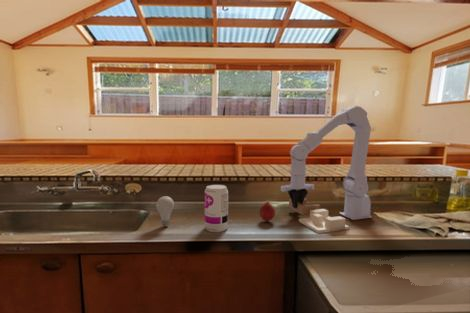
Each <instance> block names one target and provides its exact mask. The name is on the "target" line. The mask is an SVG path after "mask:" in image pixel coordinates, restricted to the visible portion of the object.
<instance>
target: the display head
mask: <svg viewBox="0 0 470 313" xmlns="http://www.w3.org/2000/svg"><path fill="white" fill-rule="evenodd" d="M346 220H347V219H346V218H345V217H343V216H342V215H341V216H340V215H339V216H330V215H329V209H326V208H320V209H316V210H310V215H309V217H303V218H298V222H299V223H301V224H303V225H304V226H306V227H307V228H308V229H310V230H312V231H314V232H315V233H316V234H322V233H323V234H324V233H331V232H332V233H333V232H337V231H346V230H350V226H349V225H347V224H346Z"/></svg>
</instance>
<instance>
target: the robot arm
mask: <svg viewBox="0 0 470 313" xmlns="http://www.w3.org/2000/svg"><path fill="white" fill-rule="evenodd" d="M368 118H369V117H368V112H367V111H366V110H365V109H364V108H363V107H361V106H359V105H358V106H357V105H355V106H352V107H346V108H343V109H342V110H341V111H339V112H337V113H336V114H335V115H334V116H333V117H331V118H330V119H329V120H328V121H327V122H326V123H324V125H323V126H322V127H320V128H319V129H318V130H317V131H311V132H307V134H306V136H305V137H304V138H303V139H302V140H301V141H300V140H299V141H297V144H295V145H293V146H292V147H291V148H290V150H289V155H290V157H291V163H290V184H286V185H281V186H280V191H281V192H283V193H285V192H287V193H288V196H289V198H290V199H291V201H292V205H293V207H294V208H297V202H299V203H301V204H303V201H304V199H306V197H307V195H308V193H309V191H308V190H315V184H313V183H306V170H307V169H306V168H307V167H306V166H307V165H306V160H307V158H308V156H309V153H311V152H312V151H314V150H315V149H316V148H317V147H319V145H321V144H322V142H323V139H324V137H326V136H327V135H329V133H331V132H333V130H335V129H336V128H337V127H339V126H342V125H347V126H349V127H350V129H352V130H353V131H354V138H353V146H352V153H351V161H350V167H349V170H348V171H347V173H346V176H345V178H344V180H343V182H342V186H343V189H345V192H344V208H343V212H342V211H339V214H340V215H341V216H342V217H343V216H344V217H346V218H348V219H351V220H354V221H355V220H362V219H363V220H364V219H369V218H372V216H371V204H372V202H371V198H370V196H369V195H367V194H368V191H369V184H368V177H367V175H366V173H365V171H366V164H367V159H368V158H367V156H368V151H369V143H370V137H371V130H372V127H371V124H370V121H369V119H368Z"/></svg>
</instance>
